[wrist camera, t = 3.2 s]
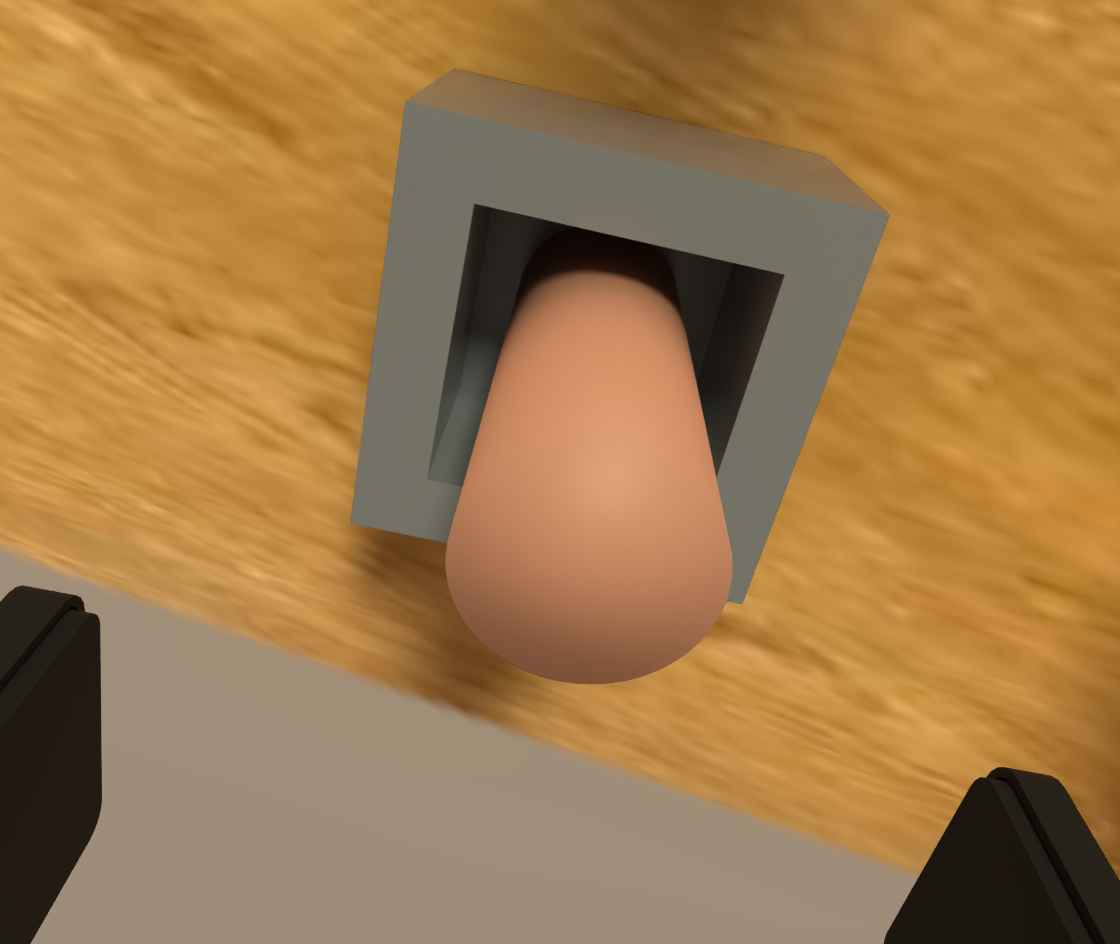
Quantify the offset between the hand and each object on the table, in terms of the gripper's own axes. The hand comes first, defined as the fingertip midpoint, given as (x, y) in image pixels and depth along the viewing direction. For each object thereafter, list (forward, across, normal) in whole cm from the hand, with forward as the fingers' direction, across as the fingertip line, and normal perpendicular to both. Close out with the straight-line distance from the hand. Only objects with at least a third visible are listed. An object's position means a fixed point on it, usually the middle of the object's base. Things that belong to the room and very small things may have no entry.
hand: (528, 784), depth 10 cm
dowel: (+16, -1, -1) cm, 16 cm away
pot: (+16, -1, -1) cm, 17 cm away
